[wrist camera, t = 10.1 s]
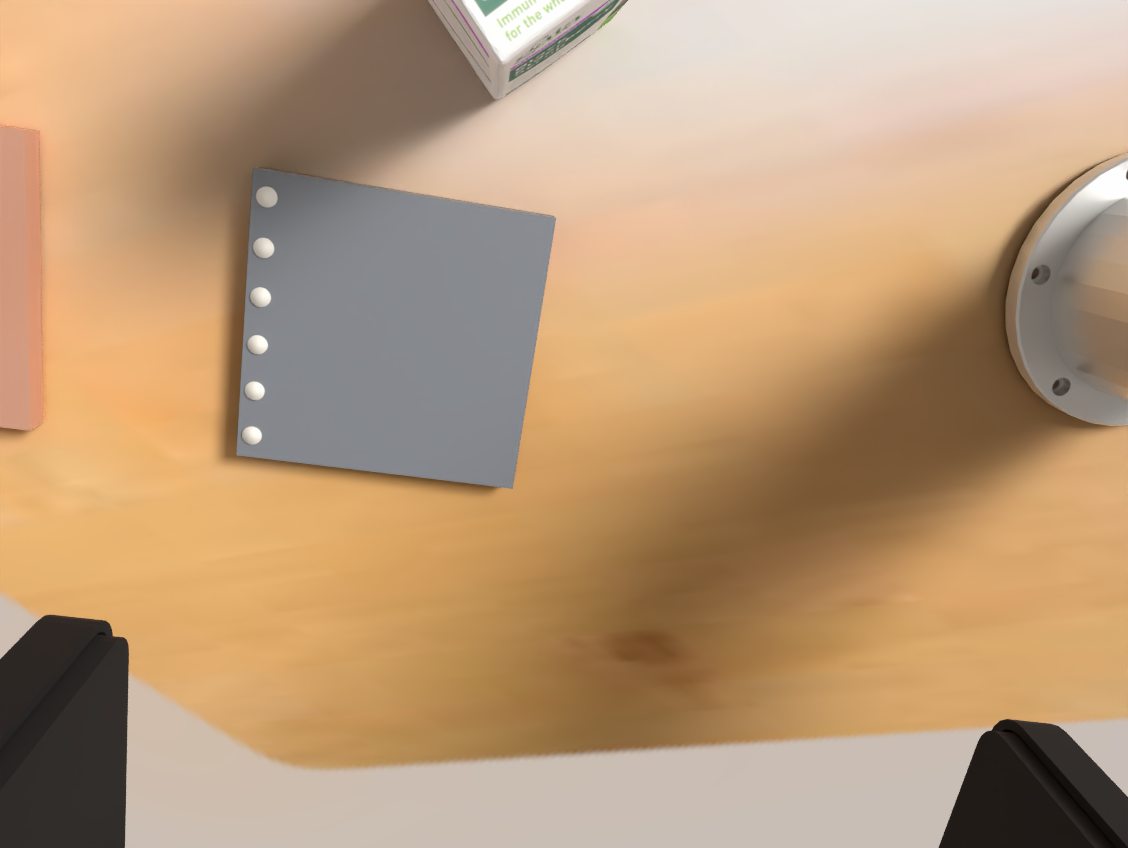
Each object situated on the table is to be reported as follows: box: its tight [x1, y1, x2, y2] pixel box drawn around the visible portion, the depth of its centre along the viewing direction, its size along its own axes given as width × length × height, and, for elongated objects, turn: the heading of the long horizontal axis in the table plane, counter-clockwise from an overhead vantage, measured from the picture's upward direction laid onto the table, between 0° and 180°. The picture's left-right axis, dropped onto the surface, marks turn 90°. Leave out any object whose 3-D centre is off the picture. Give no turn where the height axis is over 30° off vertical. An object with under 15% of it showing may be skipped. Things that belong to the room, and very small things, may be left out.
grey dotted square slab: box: [236, 167, 556, 489], centre depth 37 cm, size 12×12×1 cm
